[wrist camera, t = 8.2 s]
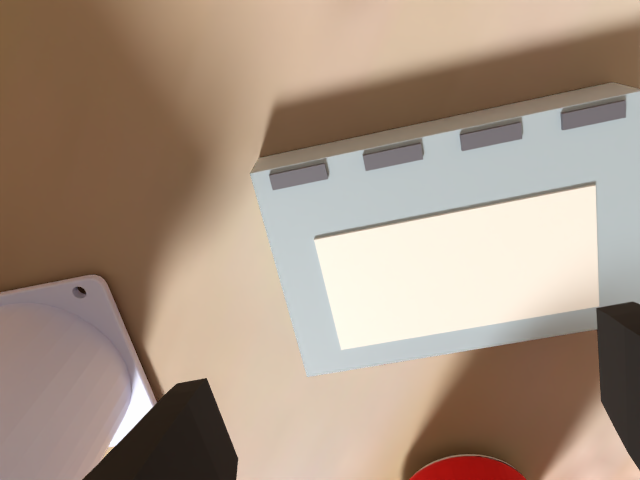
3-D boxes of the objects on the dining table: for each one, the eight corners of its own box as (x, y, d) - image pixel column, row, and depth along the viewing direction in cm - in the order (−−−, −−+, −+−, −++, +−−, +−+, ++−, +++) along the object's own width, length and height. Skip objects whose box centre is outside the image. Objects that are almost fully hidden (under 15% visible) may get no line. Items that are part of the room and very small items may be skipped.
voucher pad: (309, 346, 22) (307, 379, 20) (258, 158, 19) (249, 174, 17) (616, 294, 21) (645, 324, 19) (612, 82, 18) (647, 90, 16)
